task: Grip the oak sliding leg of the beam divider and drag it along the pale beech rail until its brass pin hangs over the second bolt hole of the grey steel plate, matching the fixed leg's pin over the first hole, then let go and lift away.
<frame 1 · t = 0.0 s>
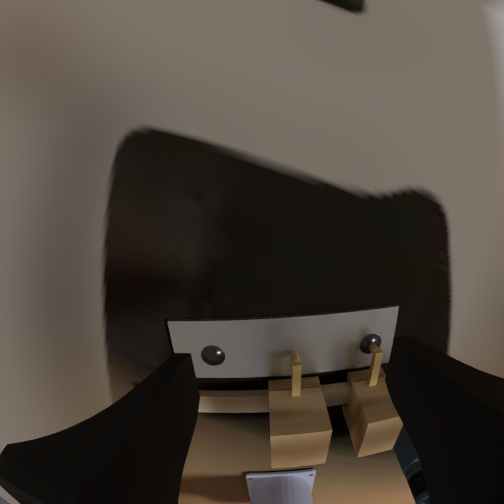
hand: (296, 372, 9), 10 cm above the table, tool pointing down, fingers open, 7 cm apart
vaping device: (399, 405, 22), on the table
rail: (280, 397, 22), on the table
fixed leg: (360, 387, 21), on the table
slider leg: (297, 409, 18), point 3 cm above the table, slide at 0.0 cm
bolt plate: (286, 345, 20), on the table
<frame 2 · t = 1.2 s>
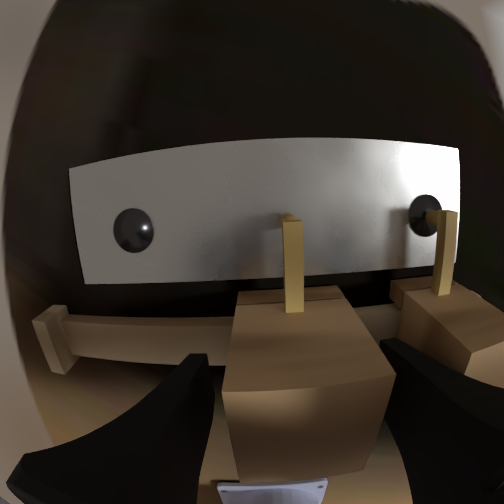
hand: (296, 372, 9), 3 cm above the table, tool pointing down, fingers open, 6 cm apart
rail: (266, 335, 12), on the table
fixed leg: (410, 319, 12), on the table
slider leg: (297, 341, 9), point 3 cm above the table, slide at 0.0 cm
bolt plate: (272, 208, 11), on the table
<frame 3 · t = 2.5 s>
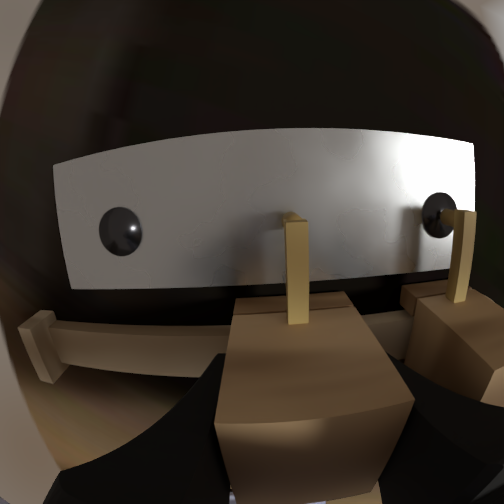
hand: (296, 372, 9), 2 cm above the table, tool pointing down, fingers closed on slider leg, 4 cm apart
rail: (266, 345, 11), on the table
fixed leg: (421, 326, 11), on the table
slider leg: (301, 357, 8), point 3 cm above the table, slide at 0.0 cm, touching gripper
bolt plate: (273, 206, 10), on the table
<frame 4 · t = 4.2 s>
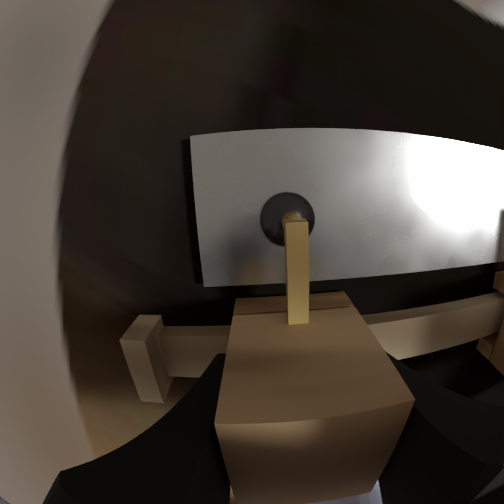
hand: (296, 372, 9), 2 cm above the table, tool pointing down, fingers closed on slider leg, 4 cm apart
rail: (401, 329, 11), on the table
fixed leg: (501, 306, 11), on the table
slider leg: (301, 357, 8), point 3 cm above the table, slide at 5.9 cm, touching gripper
bolt plate: (424, 203, 9), on the table
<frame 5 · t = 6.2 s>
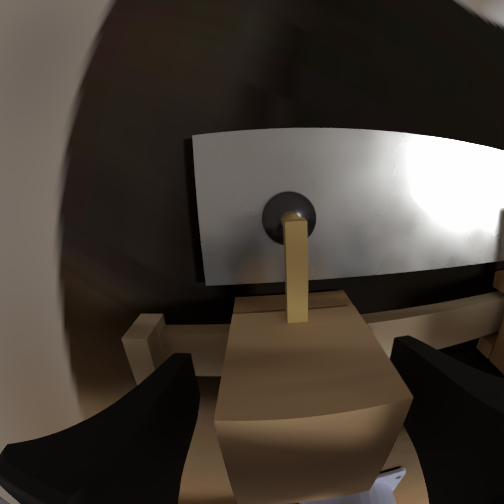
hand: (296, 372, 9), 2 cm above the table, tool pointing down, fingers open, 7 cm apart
rail: (402, 328, 11), on the table
fixed leg: (501, 306, 11), on the table
slider leg: (300, 355, 8), point 3 cm above the table, slide at 6.0 cm
bolt plate: (424, 202, 9), on the table
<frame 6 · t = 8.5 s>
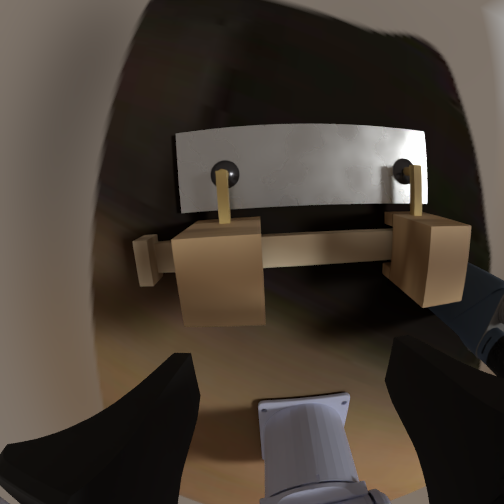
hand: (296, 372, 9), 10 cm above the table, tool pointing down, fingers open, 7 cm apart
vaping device: (444, 286, 19), on the table
rail: (307, 247, 19), on the table
fixed leg: (401, 241, 18), on the table
slider leg: (223, 237, 15), point 3 cm above the table, slide at 6.0 cm
bolt plate: (311, 164, 17), on the table
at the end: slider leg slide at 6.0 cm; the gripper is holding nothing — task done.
